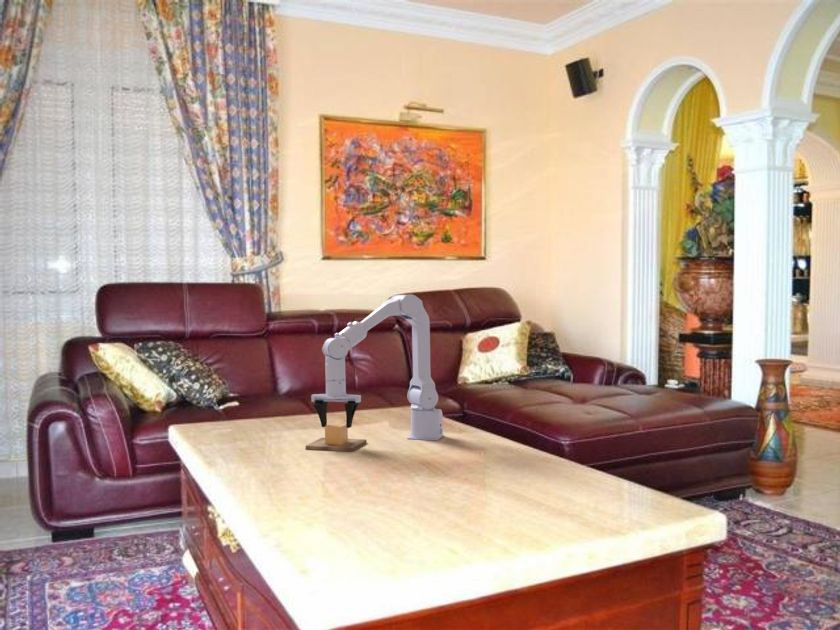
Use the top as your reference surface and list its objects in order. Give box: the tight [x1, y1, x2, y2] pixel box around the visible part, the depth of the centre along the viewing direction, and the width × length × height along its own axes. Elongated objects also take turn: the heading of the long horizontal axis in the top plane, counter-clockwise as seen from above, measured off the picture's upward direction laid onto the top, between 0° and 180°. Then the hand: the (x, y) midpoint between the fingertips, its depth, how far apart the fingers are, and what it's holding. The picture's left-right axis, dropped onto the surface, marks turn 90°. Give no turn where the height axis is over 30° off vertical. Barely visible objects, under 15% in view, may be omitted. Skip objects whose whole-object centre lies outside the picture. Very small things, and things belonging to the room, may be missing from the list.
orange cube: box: [324, 423, 349, 445], centre depth 213 cm, size 5×5×5 cm
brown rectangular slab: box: [305, 437, 368, 452], centre depth 213 cm, size 14×12×5 cm
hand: (336, 426), depth 213 cm, fingers open, 7 cm apart
